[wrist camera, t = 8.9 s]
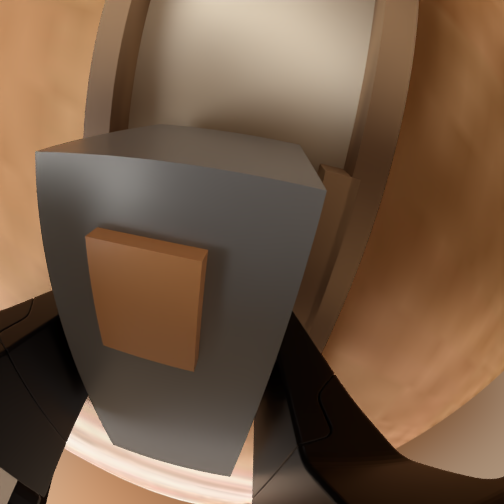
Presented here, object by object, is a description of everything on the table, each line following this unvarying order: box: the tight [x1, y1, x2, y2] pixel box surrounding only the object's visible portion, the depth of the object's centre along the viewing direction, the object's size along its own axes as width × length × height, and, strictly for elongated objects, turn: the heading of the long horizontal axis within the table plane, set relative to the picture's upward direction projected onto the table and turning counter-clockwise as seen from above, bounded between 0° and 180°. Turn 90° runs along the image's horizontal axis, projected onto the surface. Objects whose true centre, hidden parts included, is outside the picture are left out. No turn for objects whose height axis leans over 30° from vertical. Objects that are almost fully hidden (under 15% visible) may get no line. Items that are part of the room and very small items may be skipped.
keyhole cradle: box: [83, 0, 419, 353], centre depth 8 cm, size 20×9×2 cm, turn 170°
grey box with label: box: [35, 124, 327, 476], centre depth 7 cm, size 9×4×5 cm, turn 170°
